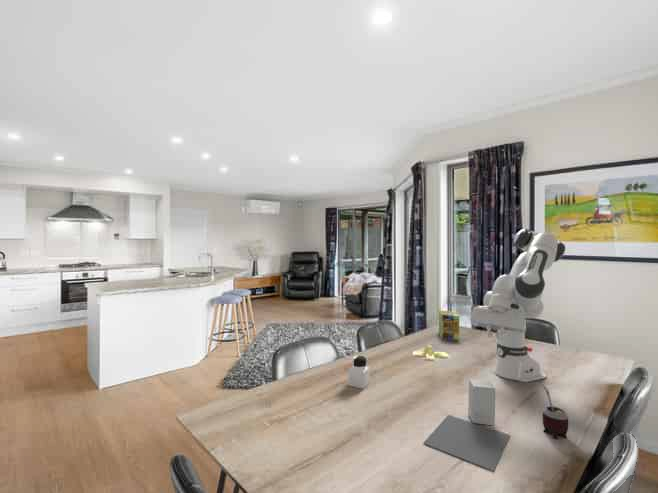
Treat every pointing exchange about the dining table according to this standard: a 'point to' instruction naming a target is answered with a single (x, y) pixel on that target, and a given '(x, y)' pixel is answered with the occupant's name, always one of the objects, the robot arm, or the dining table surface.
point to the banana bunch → (429, 353)
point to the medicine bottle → (359, 372)
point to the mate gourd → (554, 419)
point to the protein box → (449, 325)
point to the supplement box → (481, 402)
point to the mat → (469, 442)
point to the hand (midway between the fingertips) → (493, 337)
